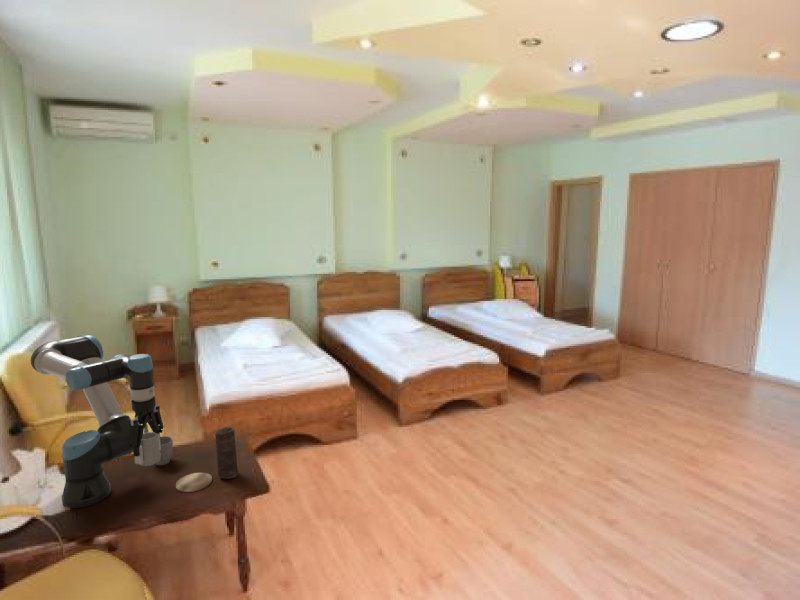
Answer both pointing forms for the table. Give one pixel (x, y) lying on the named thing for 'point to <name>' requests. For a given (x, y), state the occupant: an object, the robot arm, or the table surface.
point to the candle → (226, 453)
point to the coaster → (193, 482)
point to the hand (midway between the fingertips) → (148, 456)
